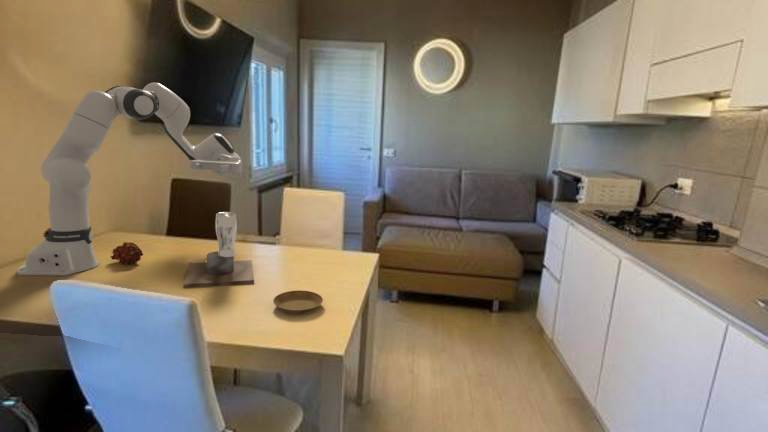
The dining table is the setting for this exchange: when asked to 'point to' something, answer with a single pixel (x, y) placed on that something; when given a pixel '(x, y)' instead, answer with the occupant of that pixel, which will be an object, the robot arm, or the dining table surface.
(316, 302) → the plant saucer
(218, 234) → the beer glass
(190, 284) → the post stand
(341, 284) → the dining table surface
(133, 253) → the brown pine cone
